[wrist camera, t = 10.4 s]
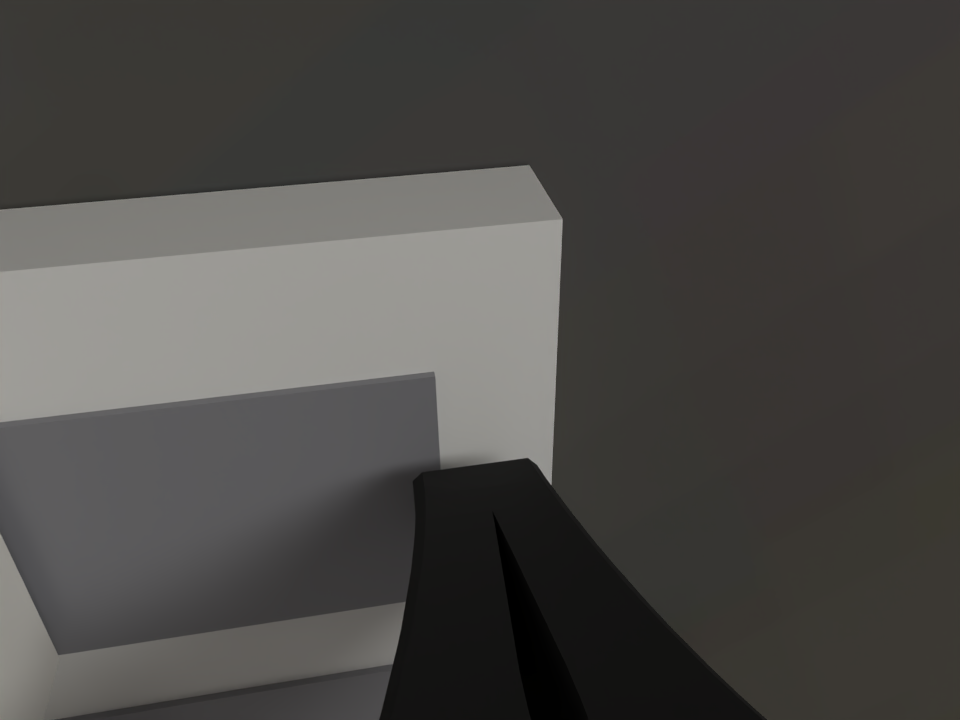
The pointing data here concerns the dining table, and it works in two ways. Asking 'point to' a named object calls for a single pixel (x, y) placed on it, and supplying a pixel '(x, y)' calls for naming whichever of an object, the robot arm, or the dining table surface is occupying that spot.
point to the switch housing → (258, 425)
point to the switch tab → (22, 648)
